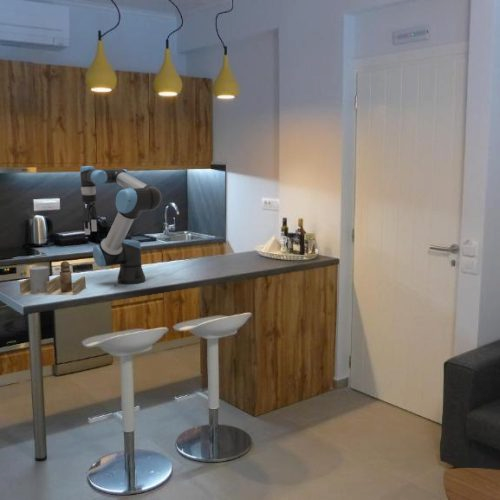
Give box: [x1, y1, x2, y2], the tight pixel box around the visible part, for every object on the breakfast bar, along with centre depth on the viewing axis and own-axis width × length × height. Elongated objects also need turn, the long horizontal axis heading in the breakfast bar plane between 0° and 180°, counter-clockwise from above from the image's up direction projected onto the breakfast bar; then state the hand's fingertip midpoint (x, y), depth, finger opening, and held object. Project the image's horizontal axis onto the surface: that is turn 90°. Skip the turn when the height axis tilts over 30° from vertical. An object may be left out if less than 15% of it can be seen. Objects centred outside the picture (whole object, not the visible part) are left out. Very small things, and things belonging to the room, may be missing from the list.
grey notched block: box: [28, 265, 51, 294], centre depth 315 cm, size 10×10×12 cm
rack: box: [19, 275, 87, 296], centre depth 316 cm, size 28×16×7 cm, turn 86°
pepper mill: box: [59, 260, 73, 292], centre depth 315 cm, size 6×6×16 cm
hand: (91, 232), depth 343 cm, fingers open, 13 cm apart
